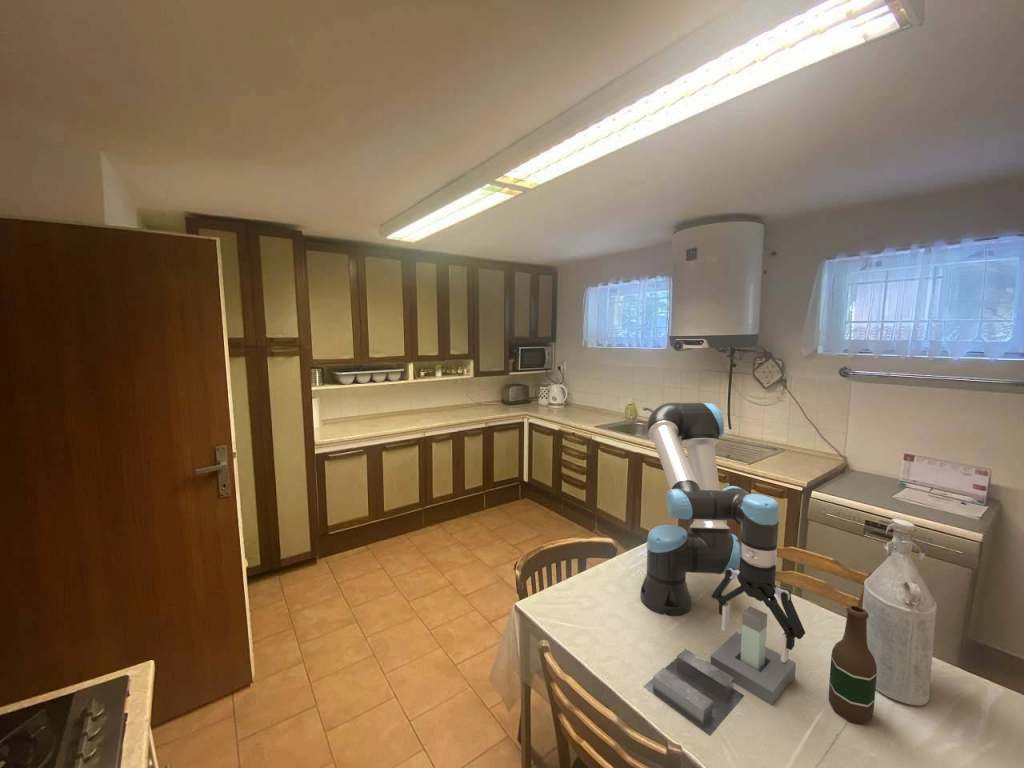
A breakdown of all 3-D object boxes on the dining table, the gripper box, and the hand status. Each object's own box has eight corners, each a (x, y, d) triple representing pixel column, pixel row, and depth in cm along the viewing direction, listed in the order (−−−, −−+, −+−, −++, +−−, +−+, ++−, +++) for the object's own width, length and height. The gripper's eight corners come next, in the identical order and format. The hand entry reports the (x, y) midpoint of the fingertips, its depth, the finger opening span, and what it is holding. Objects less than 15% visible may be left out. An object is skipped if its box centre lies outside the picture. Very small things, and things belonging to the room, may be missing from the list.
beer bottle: (819, 697, 97) (826, 599, 94) (850, 694, 97) (857, 597, 95) (849, 727, 89) (857, 621, 87) (882, 724, 90) (891, 619, 87)
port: (710, 670, 105) (710, 653, 104) (735, 645, 113) (736, 629, 113) (771, 708, 94) (772, 689, 93) (794, 677, 102) (796, 660, 102)
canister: (869, 698, 96) (882, 532, 92) (850, 649, 112) (860, 505, 108) (944, 720, 90) (961, 544, 87) (913, 665, 106) (926, 514, 102)
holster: (643, 689, 99) (643, 672, 99) (679, 658, 109) (680, 642, 109) (709, 739, 87) (710, 720, 86) (744, 698, 96) (745, 681, 96)
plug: (739, 673, 104) (742, 612, 102) (746, 665, 106) (749, 606, 105) (757, 683, 101) (760, 620, 99) (764, 675, 103) (767, 614, 102)
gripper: (699, 545, 108) (696, 623, 110) (813, 589, 89) (807, 682, 91) (713, 537, 113) (710, 611, 115) (825, 577, 93) (819, 666, 95)
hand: (753, 643), depth 103 cm, fingers open, 13 cm apart
